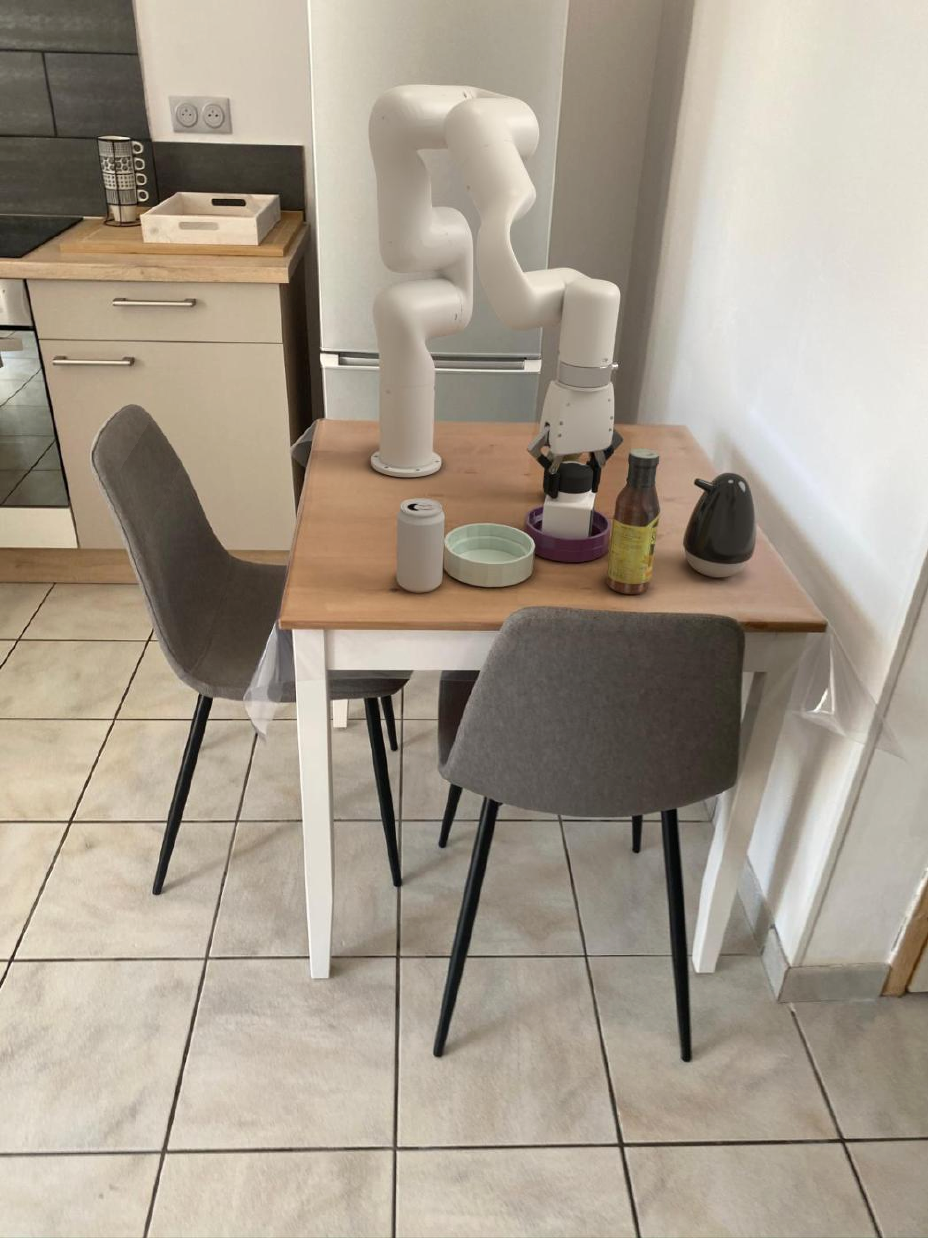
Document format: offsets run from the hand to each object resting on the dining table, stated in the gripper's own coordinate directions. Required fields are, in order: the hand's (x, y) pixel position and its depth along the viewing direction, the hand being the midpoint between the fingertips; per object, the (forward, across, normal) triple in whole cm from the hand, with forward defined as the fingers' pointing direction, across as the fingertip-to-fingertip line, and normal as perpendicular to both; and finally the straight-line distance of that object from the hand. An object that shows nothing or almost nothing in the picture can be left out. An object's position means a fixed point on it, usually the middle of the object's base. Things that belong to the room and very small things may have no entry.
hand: (570, 491), depth 143 cm
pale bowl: (+9, +14, +3) cm, 17 cm away
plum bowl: (+9, 0, 0) cm, 9 cm away
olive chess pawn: (+9, -8, -15) cm, 20 cm away
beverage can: (+9, +26, +5) cm, 28 cm away
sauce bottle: (+9, -2, +15) cm, 17 cm away
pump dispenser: (+9, -17, +15) cm, 24 cm away
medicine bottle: (+8, 0, 0) cm, 8 cm away
